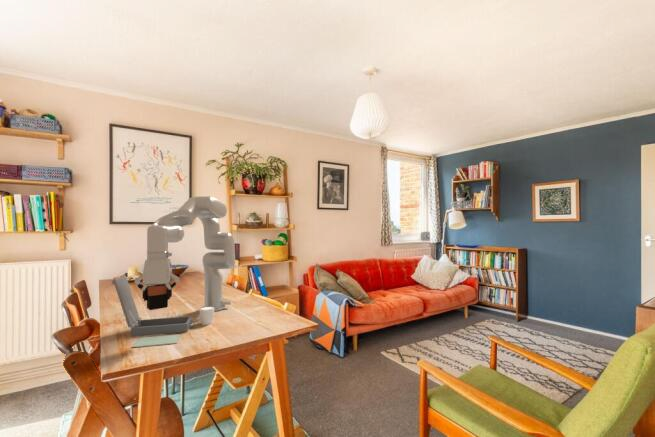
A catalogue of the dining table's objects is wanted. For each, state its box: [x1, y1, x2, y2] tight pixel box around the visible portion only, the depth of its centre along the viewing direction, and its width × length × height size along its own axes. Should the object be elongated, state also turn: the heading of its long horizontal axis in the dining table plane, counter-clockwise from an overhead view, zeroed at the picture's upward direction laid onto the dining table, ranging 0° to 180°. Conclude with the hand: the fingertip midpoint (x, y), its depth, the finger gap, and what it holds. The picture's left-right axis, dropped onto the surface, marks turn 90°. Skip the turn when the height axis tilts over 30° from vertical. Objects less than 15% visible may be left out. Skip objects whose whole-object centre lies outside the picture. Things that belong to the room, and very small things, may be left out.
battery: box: [146, 284, 169, 311], centre depth 129 cm, size 4×7×10 cm, turn 134°
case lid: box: [113, 275, 140, 329], centre depth 139 cm, size 21×12×1 cm
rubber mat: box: [130, 333, 182, 349], centre depth 129 cm, size 16×10×1 cm, turn 105°
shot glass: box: [198, 306, 215, 326], centre depth 153 cm, size 7×7×7 cm
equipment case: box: [128, 310, 192, 337], centre depth 143 cm, size 23×12×11 cm, turn 105°
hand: (157, 299), depth 129 cm, fingers closed on battery, 7 cm apart
